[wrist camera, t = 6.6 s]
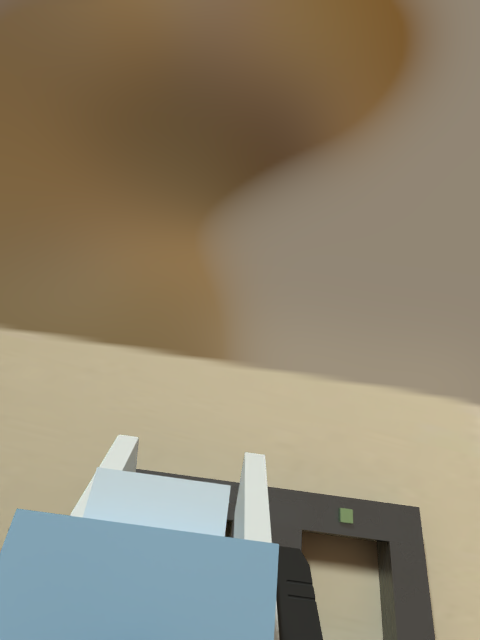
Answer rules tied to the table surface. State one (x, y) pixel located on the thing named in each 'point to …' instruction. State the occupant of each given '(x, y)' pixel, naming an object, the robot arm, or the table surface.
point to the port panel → (361, 523)
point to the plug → (137, 567)
